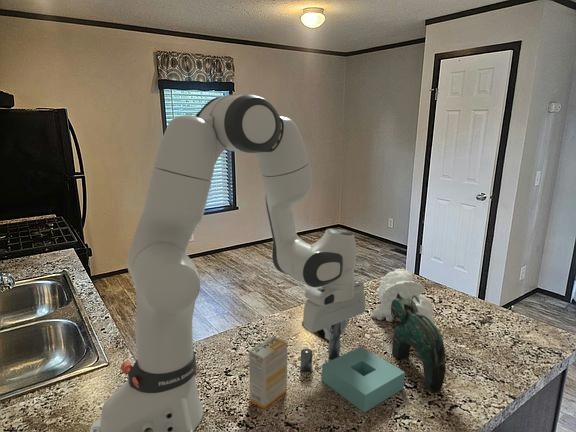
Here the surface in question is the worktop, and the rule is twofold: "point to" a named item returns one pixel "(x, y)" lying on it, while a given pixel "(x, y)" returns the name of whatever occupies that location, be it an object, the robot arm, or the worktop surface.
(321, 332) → the electric trimmer
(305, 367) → the short pin
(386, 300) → the white lumpy sculpture
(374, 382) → the hole block
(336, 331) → the long pin
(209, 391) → the worktop surface
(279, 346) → the supplement box
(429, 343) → the ceramic cat
